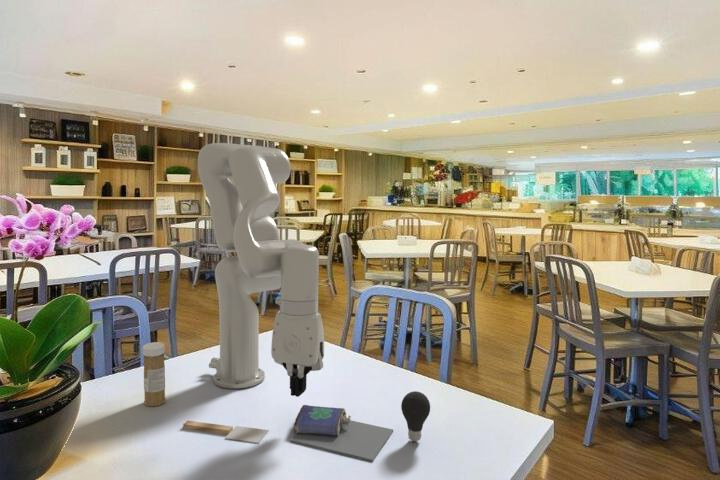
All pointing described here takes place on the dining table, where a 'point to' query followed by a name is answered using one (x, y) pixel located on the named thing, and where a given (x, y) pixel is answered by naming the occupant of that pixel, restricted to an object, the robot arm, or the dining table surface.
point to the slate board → (349, 440)
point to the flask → (320, 420)
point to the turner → (229, 431)
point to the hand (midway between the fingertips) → (297, 393)
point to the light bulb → (415, 413)
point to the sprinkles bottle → (154, 373)
